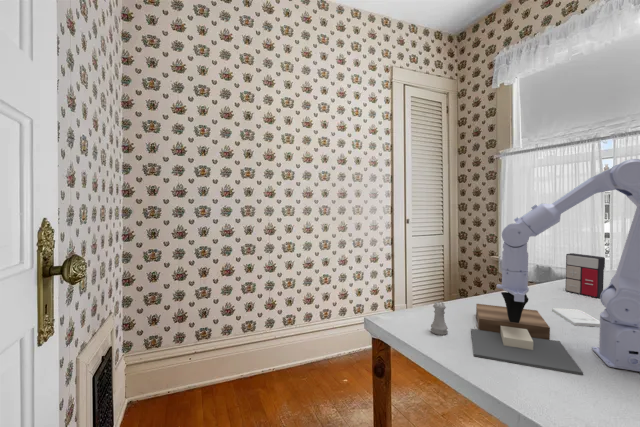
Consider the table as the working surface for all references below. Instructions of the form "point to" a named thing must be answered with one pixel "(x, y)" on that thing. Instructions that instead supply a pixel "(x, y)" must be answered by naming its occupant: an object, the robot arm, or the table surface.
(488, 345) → the rubber mat
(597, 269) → the red and grey box
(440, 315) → the rook chess piece
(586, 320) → the external hard drive
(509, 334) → the ivory tile
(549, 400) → the table surface
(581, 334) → the table surface
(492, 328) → the walnut deck
